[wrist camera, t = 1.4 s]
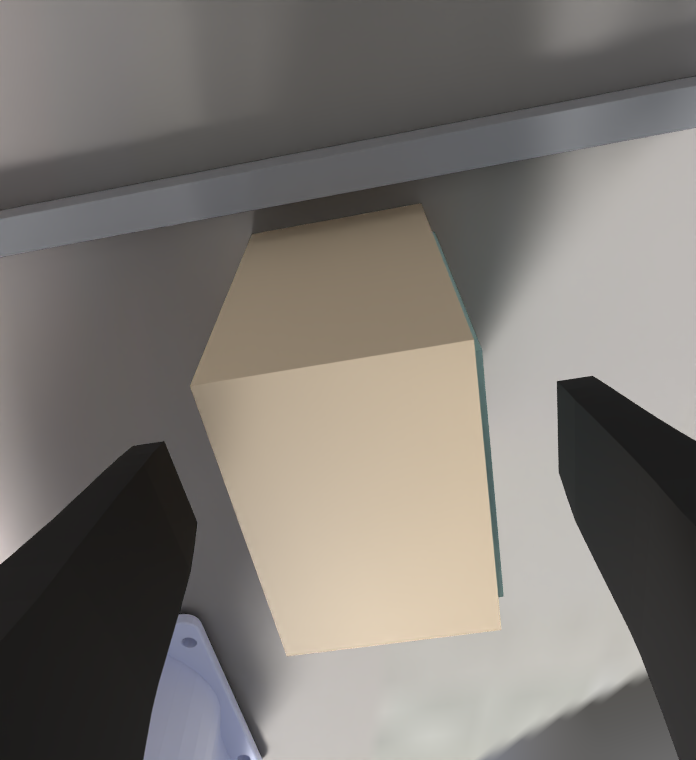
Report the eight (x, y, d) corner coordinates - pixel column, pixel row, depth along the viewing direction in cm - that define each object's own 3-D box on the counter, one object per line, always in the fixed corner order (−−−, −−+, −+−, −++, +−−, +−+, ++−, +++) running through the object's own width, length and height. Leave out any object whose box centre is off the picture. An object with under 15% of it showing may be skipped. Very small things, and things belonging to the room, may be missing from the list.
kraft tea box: (306, 438, 18) (286, 656, 12) (251, 233, 15) (189, 385, 9) (452, 416, 18) (509, 629, 12) (427, 201, 15) (485, 337, 9)
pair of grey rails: (695, 116, 14) (744, 131, 12) (-376, 316, 16) (-464, 354, 14) (741, -439, 10) (826, -535, 8) (-692, -65, 12) (-865, -76, 10)
